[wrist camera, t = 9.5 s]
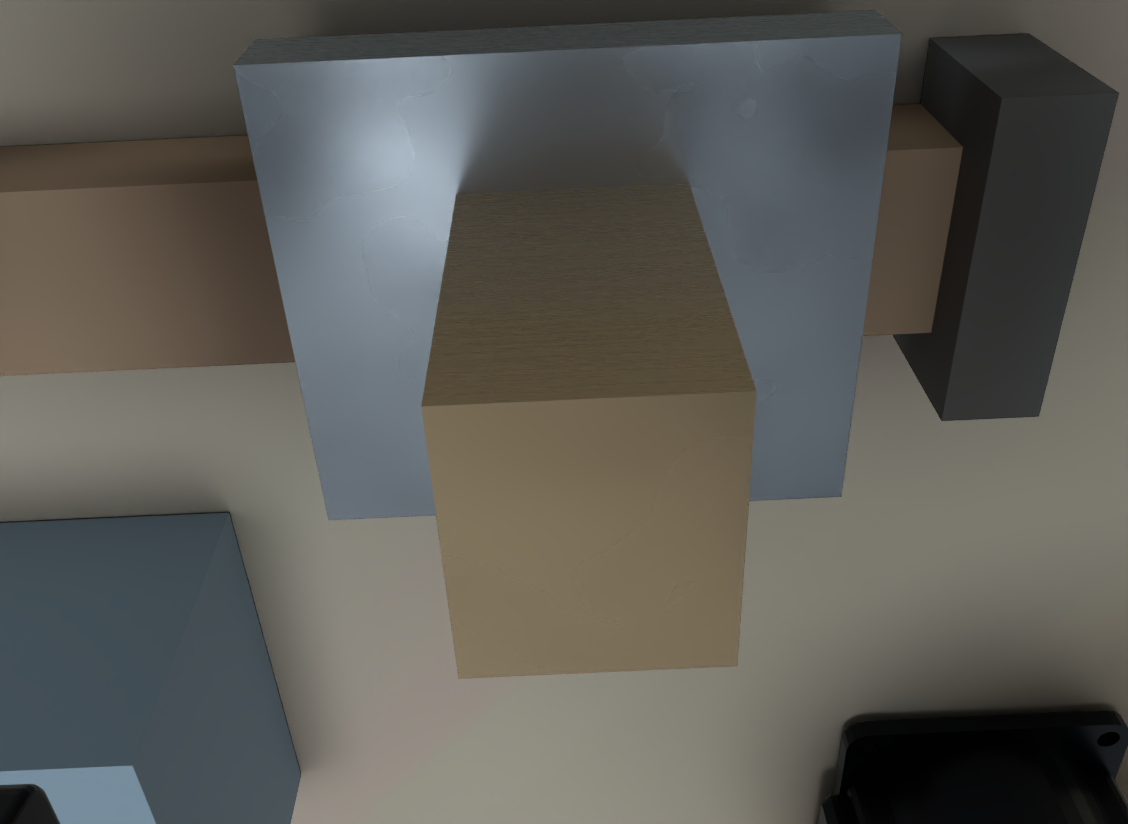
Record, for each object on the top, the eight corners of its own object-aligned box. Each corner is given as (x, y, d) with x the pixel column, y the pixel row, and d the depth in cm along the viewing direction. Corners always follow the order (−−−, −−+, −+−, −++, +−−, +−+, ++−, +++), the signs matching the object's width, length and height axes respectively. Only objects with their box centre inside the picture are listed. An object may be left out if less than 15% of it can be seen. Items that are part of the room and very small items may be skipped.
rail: (1028, 33, 16) (1118, 92, 14) (972, 323, 19) (1038, 416, 16) (-414, 101, 16) (-587, 173, 14) (-261, 380, 19) (-381, 481, 16)
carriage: (841, -20, 15) (1080, 192, 9) (801, 393, 19) (944, 761, 12) (283, 6, 15) (85, 239, 9) (355, 413, 19) (259, 792, 12)
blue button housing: (229, 512, 21) (132, 765, 16) (301, 774, 25) (243, 1037, 20) (-177, 530, 21) (-401, 789, 16) (-34, 790, 25) (-175, 1056, 20)
